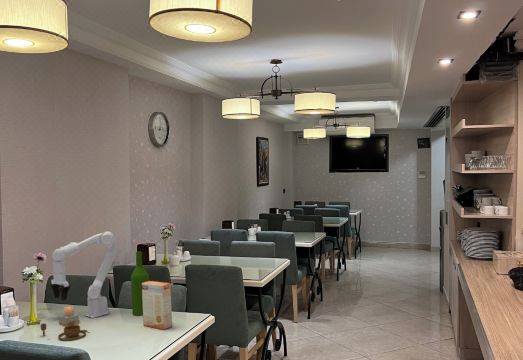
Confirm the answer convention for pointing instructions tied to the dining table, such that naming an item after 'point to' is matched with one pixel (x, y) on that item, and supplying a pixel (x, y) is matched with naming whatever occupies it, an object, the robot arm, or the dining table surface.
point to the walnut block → (69, 323)
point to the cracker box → (157, 304)
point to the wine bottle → (138, 285)
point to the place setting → (68, 332)
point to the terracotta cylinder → (68, 311)
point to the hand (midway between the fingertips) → (60, 298)
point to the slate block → (69, 318)
